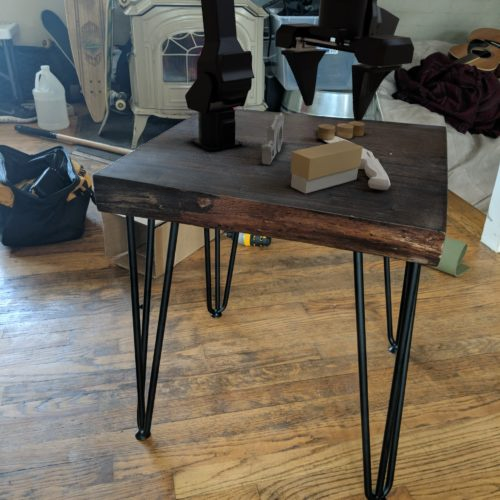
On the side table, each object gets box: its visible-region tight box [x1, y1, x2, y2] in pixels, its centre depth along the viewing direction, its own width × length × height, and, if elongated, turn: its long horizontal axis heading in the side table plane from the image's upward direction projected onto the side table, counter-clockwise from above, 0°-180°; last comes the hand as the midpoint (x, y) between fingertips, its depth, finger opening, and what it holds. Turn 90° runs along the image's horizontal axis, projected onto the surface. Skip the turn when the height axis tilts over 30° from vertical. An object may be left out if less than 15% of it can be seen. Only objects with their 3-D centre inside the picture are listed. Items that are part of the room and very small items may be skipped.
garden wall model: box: [260, 112, 286, 166], centre depth 82 cm, size 12×2×6 cm, turn 167°
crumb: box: [347, 120, 366, 137], centre depth 95 cm, size 3×3×2 cm
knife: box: [321, 135, 391, 191], centre depth 83 cm, size 30×2×8 cm
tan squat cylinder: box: [316, 123, 336, 140], centre depth 91 cm, size 3×3×2 cm
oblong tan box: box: [290, 139, 364, 194], centre depth 72 cm, size 4×10×5 cm, turn 127°
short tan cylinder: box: [335, 123, 354, 140], centre depth 93 cm, size 3×3×2 cm
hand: (332, 112), depth 68 cm, fingers open, 9 cm apart
